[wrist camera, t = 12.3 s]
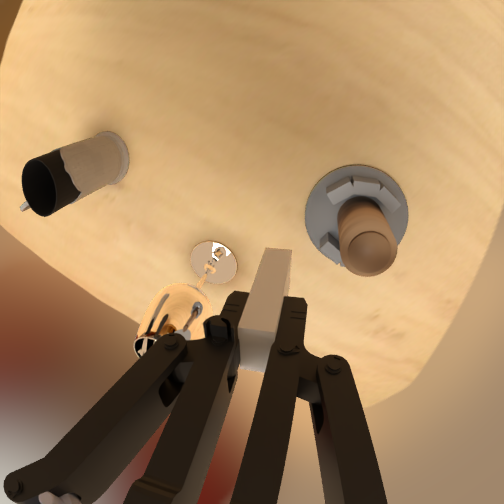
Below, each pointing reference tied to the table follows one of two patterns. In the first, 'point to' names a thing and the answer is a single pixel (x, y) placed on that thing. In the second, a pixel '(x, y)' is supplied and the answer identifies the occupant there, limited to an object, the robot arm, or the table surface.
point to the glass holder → (73, 172)
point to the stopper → (365, 237)
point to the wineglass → (186, 298)
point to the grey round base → (342, 189)
